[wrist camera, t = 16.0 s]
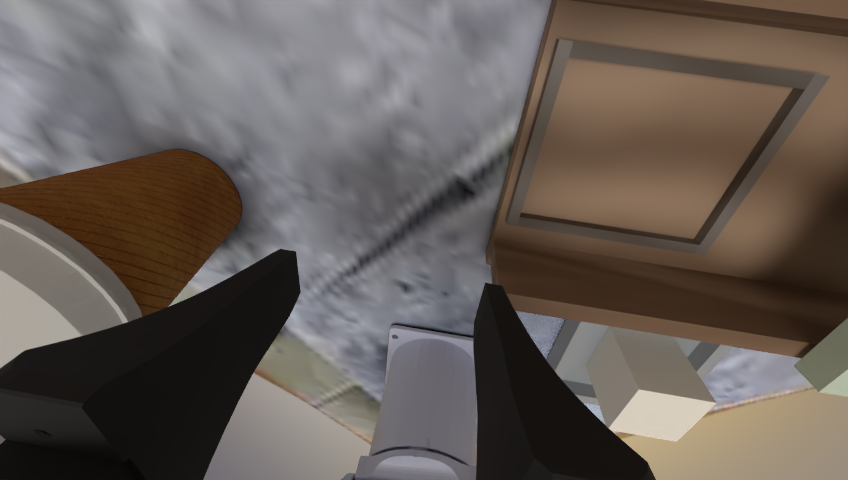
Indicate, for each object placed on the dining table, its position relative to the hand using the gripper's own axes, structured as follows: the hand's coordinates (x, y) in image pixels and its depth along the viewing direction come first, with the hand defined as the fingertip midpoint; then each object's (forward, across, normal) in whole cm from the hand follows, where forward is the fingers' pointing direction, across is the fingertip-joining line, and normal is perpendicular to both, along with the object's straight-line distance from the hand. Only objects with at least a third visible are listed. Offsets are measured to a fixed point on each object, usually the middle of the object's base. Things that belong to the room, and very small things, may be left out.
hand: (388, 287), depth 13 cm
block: (+9, -17, +10) cm, 22 cm away
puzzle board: (+9, -17, -4) cm, 20 cm away
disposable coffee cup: (+10, +15, +3) cm, 18 cm away
